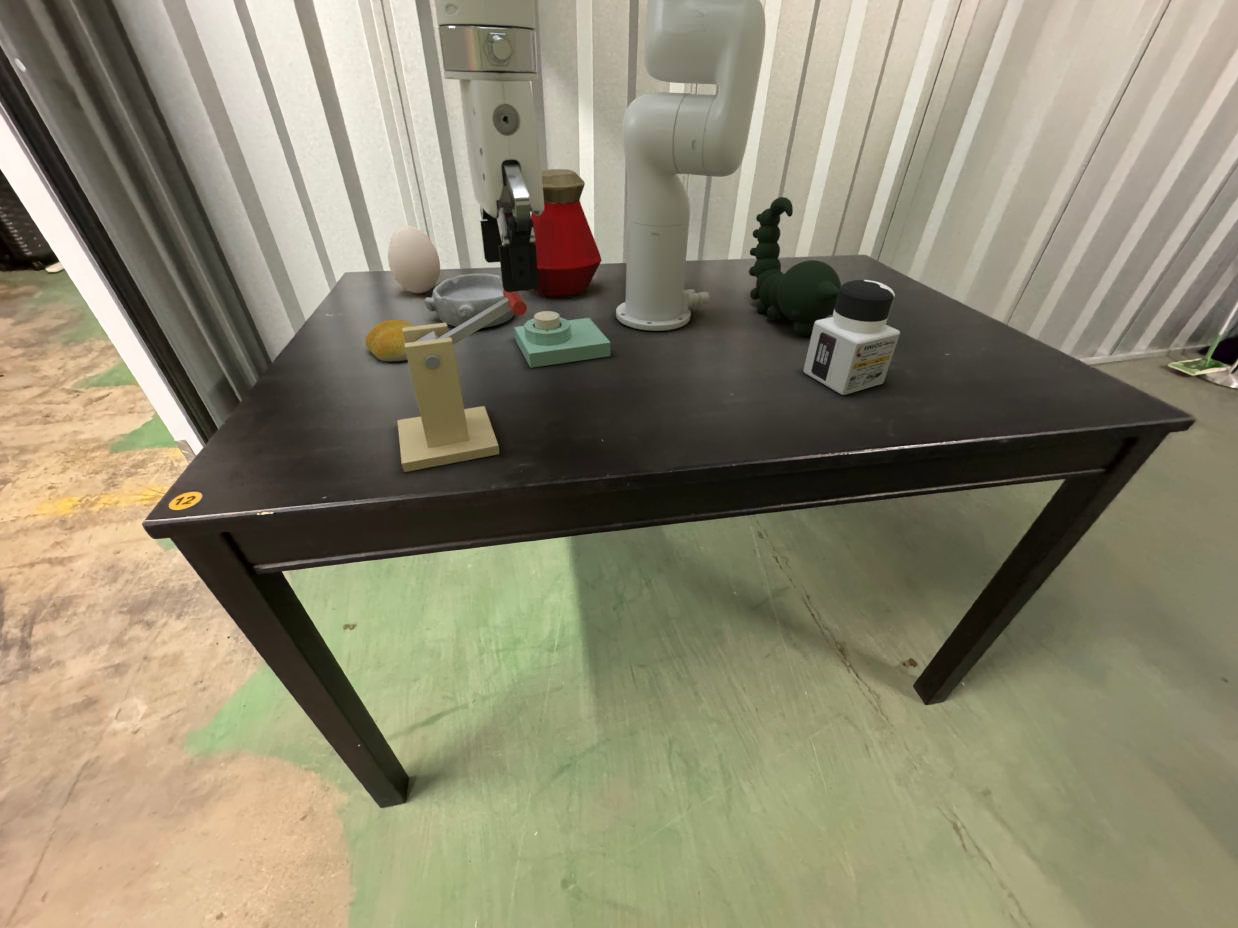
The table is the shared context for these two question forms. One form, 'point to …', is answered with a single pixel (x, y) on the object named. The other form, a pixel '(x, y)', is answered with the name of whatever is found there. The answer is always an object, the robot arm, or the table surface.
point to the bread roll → (388, 340)
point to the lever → (483, 318)
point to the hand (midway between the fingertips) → (510, 274)
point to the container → (854, 339)
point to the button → (547, 320)
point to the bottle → (563, 237)
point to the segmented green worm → (790, 277)
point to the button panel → (561, 342)
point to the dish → (467, 298)
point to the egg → (413, 260)
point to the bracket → (440, 407)
